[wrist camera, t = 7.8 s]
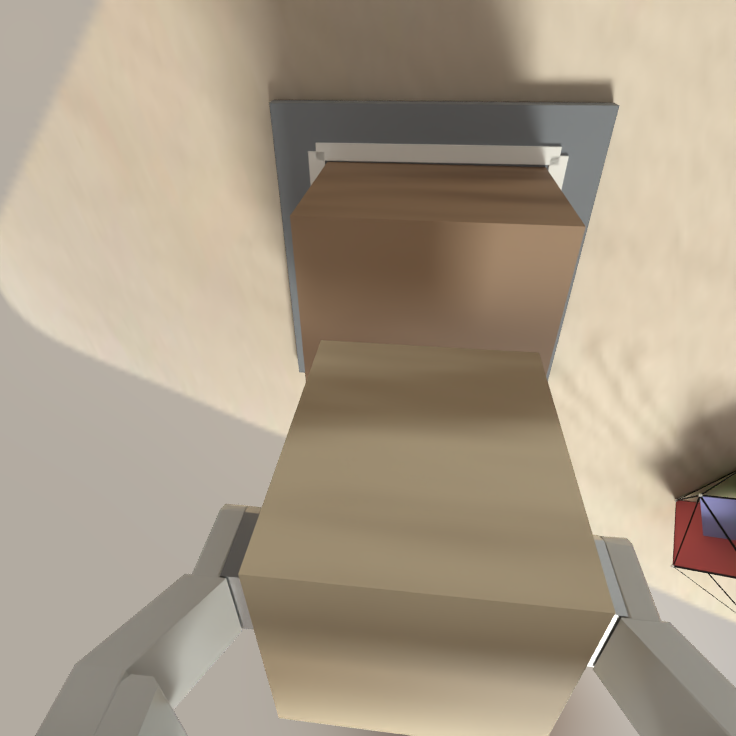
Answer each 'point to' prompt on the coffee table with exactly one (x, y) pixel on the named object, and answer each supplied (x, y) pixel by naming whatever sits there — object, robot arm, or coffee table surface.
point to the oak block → (425, 548)
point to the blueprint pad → (439, 148)
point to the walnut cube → (434, 256)
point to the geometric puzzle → (706, 535)
